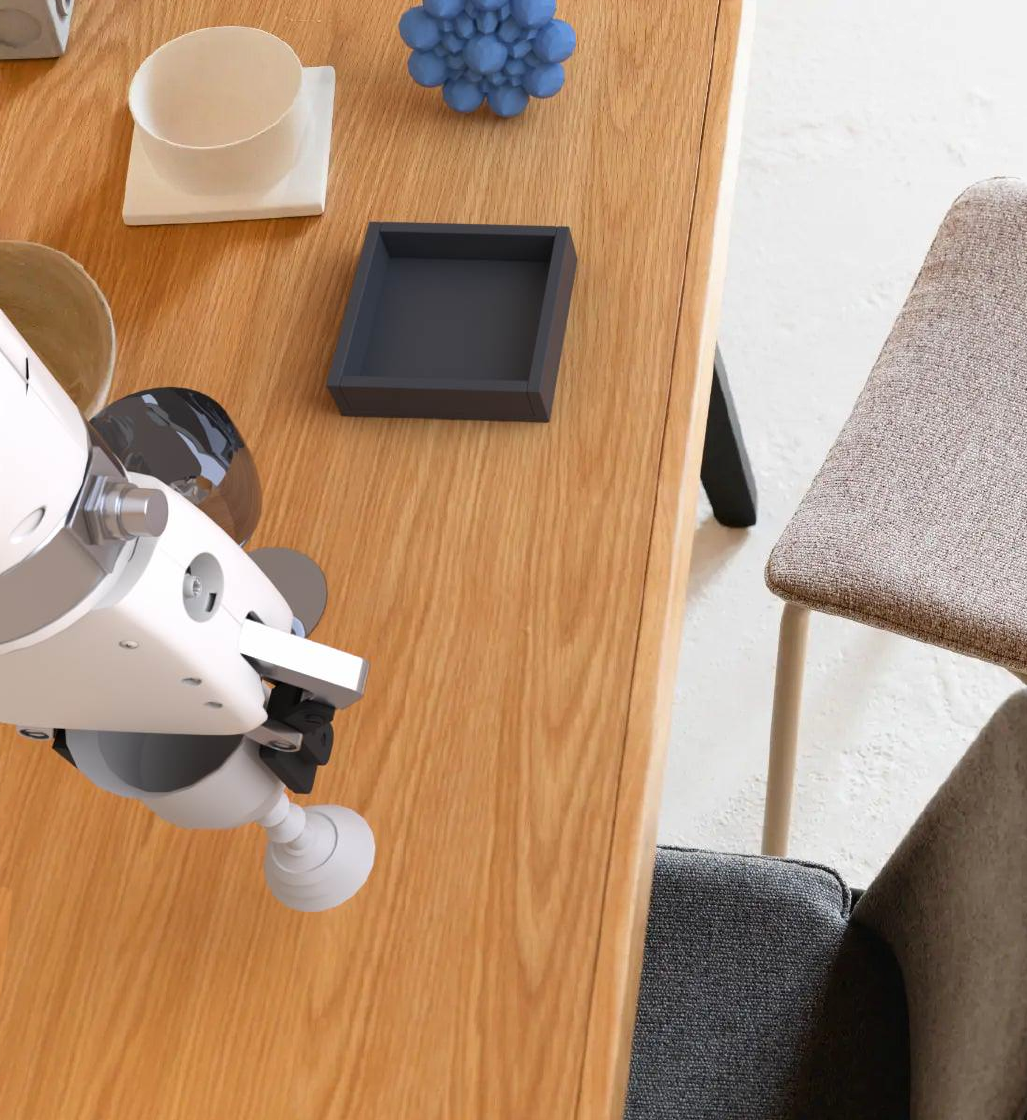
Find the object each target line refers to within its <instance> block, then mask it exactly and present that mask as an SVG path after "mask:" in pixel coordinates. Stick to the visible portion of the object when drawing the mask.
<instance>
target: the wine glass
mask: <svg viewBox="0 0 1027 1120" xmlns="http://www.w3.org/2000/svg"><path fill="white" fill-rule="evenodd" d="M88 421H89V422H90V424H91V425H92V426H93V428H94V429H95V430H96V431H97V433H98V434H99V435H100V436H101V438H102V439H103V440H104V442H105V443H106V444H107V445H108V447H109V448H110V449H111V451H112V452H113V453H114V454H115V455H116V457H117V458H118V459H119V461H120V462H121V463H122V465H123V466H124V468H125V469H126V471H128V472H134V473H139V474H144V475H149V476H152V477H155V478H157V479H158V480H160V481H161V482H163V483H164V484H166V485H167V486H169V487H170V488H172V489H173V490H175V491H176V492H178V493H179V494H181V495H182V496H183V497H184V498H186V499H187V500H188V501H190V502H191V503H192V504H193V505H195V506H196V507H197V508H199V509H200V510H201V511H202V512H204V513H205V514H206V515H207V516H208V517H209V518H210V519H211V520H213V521H214V522H215V523H216V524H217V525H218V526H219V527H220V528H221V529H223V530H224V531H225V532H226V533H227V534H228V535H229V536H230V537H231V538H232V539H233V540H234V541H235V542H236V543H237V544H238V545H239V546H240V547H241V548H242V549H243V548H244V547H245V546H246V545H247V544H248V542H249V541H250V540H251V538H252V537H253V535H254V533H255V531H256V529H258V526H259V523H260V520H261V517H262V509H263V490H262V485H261V479H260V475H259V472H258V468H257V466H256V462H255V459H254V456H253V453H252V452H251V450H250V448H249V446H248V444H247V443H246V441H245V439H244V437H243V435H242V434H241V432H240V429H239V427H238V426H237V425H236V423H235V422H234V420H233V418H232V417H231V416H230V414H229V413H228V412H227V411H226V410H225V409H224V407H223V406H222V405H221V404H220V403H219V402H217V400H215V399H214V398H212V397H211V396H209V395H207V394H204V393H203V392H200V391H199V390H195V389H191V388H186V387H180V386H179V387H178V386H164V387H162V386H161V387H160V386H159V387H152V388H148V389H143V390H139V391H136V392H133V393H131V394H128V395H125V396H122V397H121V398H119V399H117V400H115V401H113V402H111V403H110V404H109V405H107V406H105V407H104V408H103V409H101V410H100V411H99V412H97V413H96V414H95V415H94V416H93V417H91V418H90V419H89V420H88ZM245 553H246V554H247V555H248V556H249V557H250V558H251V559H252V560H253V561H254V563H255V564H256V565H257V566H258V567H259V568H260V569H261V571H262V572H263V573H264V574H265V575H266V576H267V578H268V579H269V580H270V581H271V583H272V584H273V585H274V586H275V588H276V589H277V590H278V591H279V593H280V594H281V595H282V596H283V598H284V599H285V601H286V602H287V604H288V606H289V607H290V609H291V611H292V613H293V621H292V628H291V634H293V635H296V636H299V637H302V638H305V639H307V638H308V637H309V635H310V634H312V632H313V631H314V630H315V628H316V627H317V626H318V624H319V623H320V621H321V618H322V617H323V616H324V613H325V610H326V607H327V602H328V584H327V580H326V577H325V574H324V573H323V571H322V569H321V567H320V566H319V565H318V564H317V563H316V561H315V560H314V559H312V558H311V557H309V556H308V555H306V554H305V553H302V552H300V551H298V550H295V549H292V548H288V547H280V546H279V547H278V546H274V547H261V548H257V549H254V550H250V551H248V552H245Z"/></svg>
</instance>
